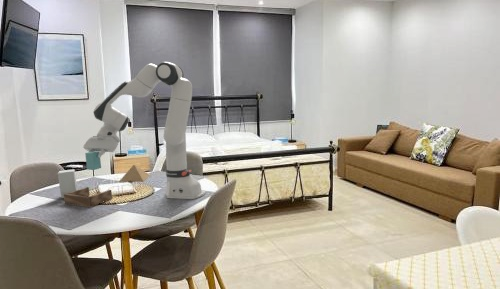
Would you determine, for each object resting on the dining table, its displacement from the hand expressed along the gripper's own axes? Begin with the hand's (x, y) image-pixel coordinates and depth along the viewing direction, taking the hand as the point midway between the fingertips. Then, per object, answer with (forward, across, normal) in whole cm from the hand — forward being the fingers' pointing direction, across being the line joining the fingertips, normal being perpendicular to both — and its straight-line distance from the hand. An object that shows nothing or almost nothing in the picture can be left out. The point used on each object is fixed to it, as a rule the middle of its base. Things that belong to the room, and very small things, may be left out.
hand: (93, 157), depth 193 cm
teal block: (+5, 0, +4) cm, 6 cm away
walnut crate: (+20, 0, +12) cm, 24 cm away
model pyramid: (-13, -11, +46) cm, 50 cm away
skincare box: (+18, -18, +14) cm, 30 cm away
